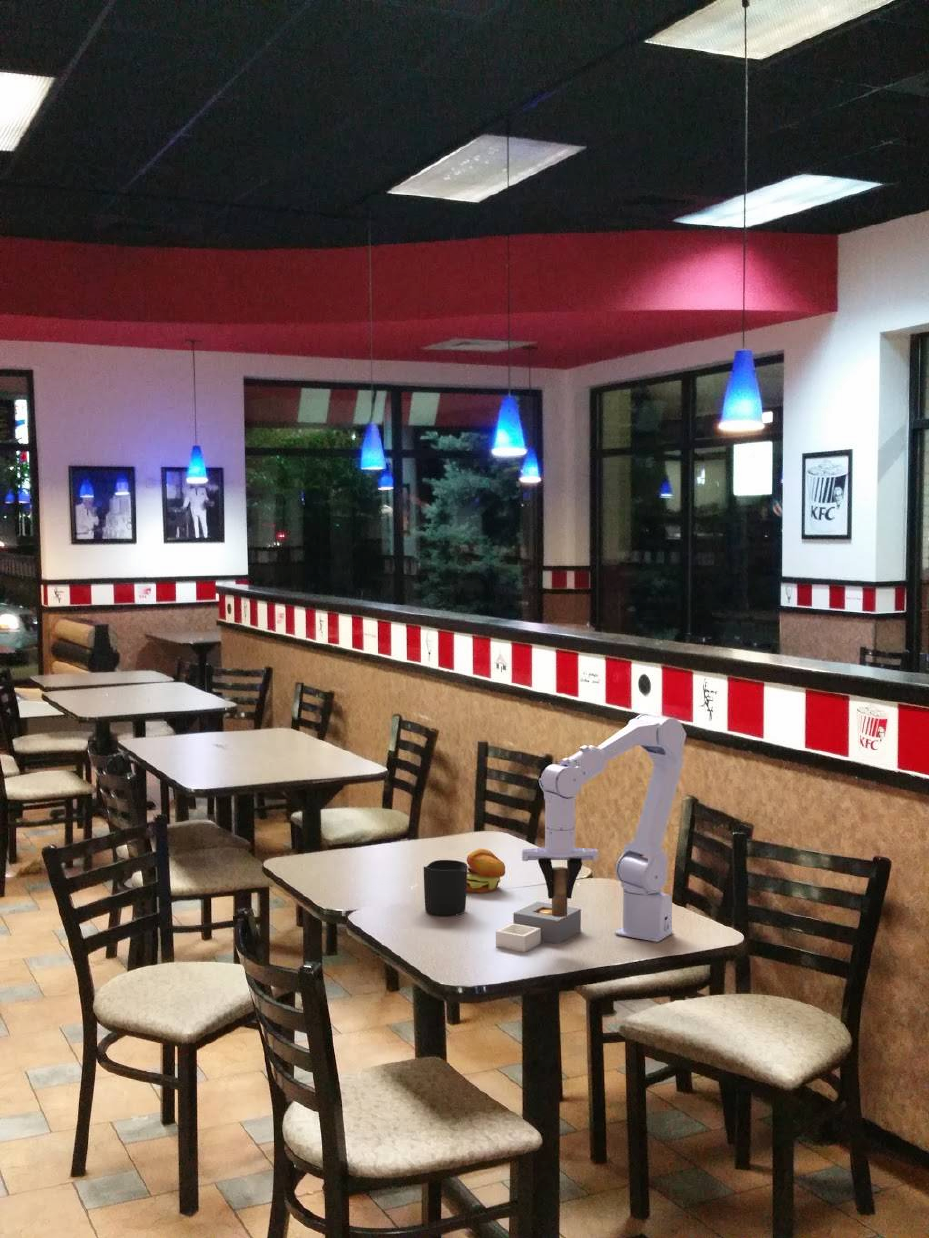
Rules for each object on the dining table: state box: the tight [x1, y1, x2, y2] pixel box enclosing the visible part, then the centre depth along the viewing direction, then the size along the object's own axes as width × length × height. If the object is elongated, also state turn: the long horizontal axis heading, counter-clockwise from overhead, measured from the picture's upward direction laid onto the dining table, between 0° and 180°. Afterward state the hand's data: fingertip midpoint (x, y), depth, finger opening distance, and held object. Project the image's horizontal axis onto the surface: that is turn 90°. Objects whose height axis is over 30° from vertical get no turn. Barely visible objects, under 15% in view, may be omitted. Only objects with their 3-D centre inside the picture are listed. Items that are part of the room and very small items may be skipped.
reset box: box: [512, 901, 582, 944], centre depth 247 cm, size 10×10×4 cm
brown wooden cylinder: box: [551, 866, 568, 917], centre depth 236 cm, size 3×3×9 cm
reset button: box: [538, 910, 552, 915], centre depth 247 cm, size 5×5×1 cm
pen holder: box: [423, 859, 468, 917], centre depth 263 cm, size 9×9×10 cm
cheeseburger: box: [466, 848, 506, 894], centre depth 281 cm, size 10×11×10 cm
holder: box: [495, 922, 542, 953], centre depth 239 cm, size 6×6×3 cm
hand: (559, 897), depth 236 cm, fingers closed on brown wooden cylinder, 3 cm apart
